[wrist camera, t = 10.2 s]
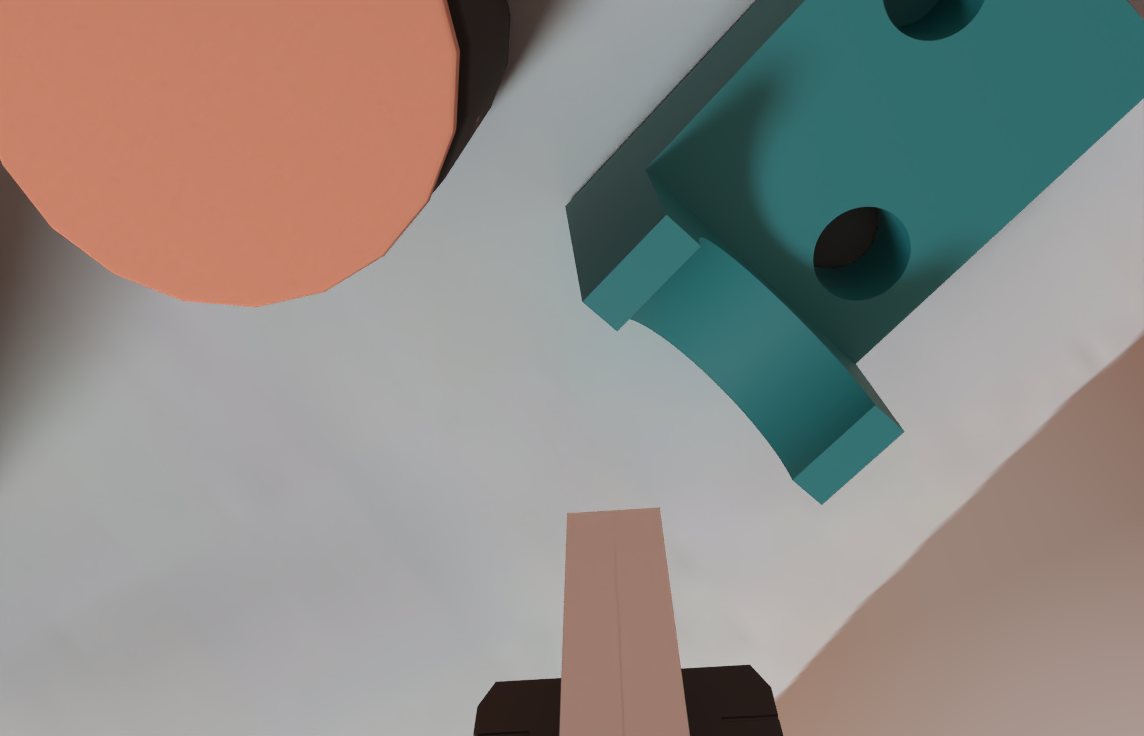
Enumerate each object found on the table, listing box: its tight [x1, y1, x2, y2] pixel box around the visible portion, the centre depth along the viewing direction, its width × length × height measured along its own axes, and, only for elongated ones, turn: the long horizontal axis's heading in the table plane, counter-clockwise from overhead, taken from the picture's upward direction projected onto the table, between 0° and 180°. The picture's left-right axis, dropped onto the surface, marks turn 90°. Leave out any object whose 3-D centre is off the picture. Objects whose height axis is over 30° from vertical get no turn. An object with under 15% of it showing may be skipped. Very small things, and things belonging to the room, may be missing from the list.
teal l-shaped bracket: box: [565, 0, 1144, 505], centre depth 37 cm, size 18×11×10 cm, turn 137°
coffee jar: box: [0, 0, 510, 307], centre depth 32 cm, size 11×11×18 cm
